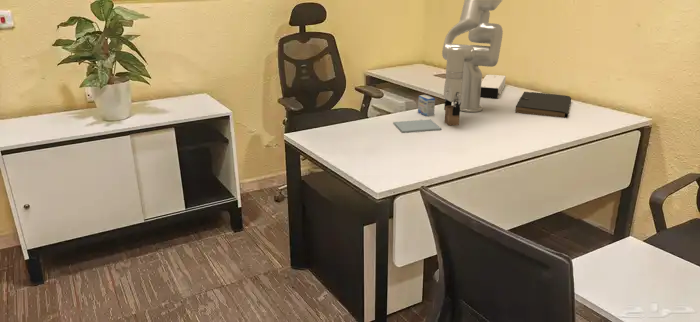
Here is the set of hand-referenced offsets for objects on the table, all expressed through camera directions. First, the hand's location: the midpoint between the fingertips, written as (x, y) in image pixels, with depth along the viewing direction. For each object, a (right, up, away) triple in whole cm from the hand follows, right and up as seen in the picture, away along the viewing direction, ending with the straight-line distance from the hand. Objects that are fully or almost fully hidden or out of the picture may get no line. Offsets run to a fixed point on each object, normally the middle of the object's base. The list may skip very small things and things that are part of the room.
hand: (451, 112), depth 242 cm
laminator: (+34, +17, +60) cm, 71 cm away
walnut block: (0, -5, +3) cm, 5 cm away
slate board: (-16, -6, -2) cm, 17 cm away
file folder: (+52, +5, +28) cm, 59 cm away
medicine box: (-9, +1, +18) cm, 20 cm away
